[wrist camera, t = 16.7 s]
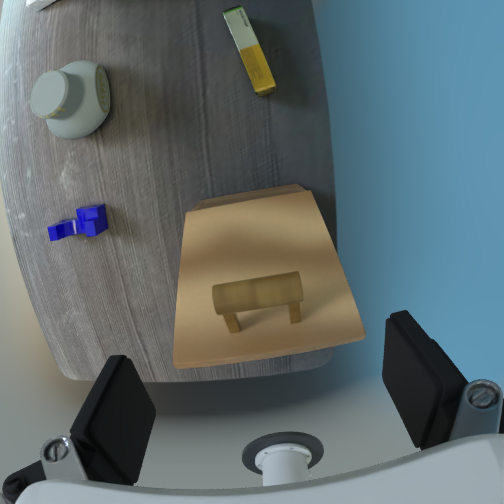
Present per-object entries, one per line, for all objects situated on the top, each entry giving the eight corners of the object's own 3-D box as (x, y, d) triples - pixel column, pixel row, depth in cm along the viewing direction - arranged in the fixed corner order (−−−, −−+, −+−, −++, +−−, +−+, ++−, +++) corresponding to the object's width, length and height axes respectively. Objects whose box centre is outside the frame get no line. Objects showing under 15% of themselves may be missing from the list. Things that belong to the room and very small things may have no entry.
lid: (364, 339, 19) (377, 293, 16) (176, 369, 20) (145, 331, 16) (311, 196, 31) (308, 152, 27) (187, 218, 31) (173, 176, 28)
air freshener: (117, 129, 36) (81, 126, 27) (67, 146, 37) (26, 148, 27) (108, 57, 33) (73, 38, 24) (60, 77, 33) (20, 66, 24)
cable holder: (104, 203, 40) (91, 209, 36) (108, 228, 41) (96, 235, 37) (60, 210, 40) (45, 216, 36) (64, 233, 41) (50, 241, 37)
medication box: (226, 21, 32) (220, 10, 28) (245, 15, 32) (242, 3, 28) (257, 98, 36) (255, 92, 32) (278, 91, 35) (278, 85, 31)
